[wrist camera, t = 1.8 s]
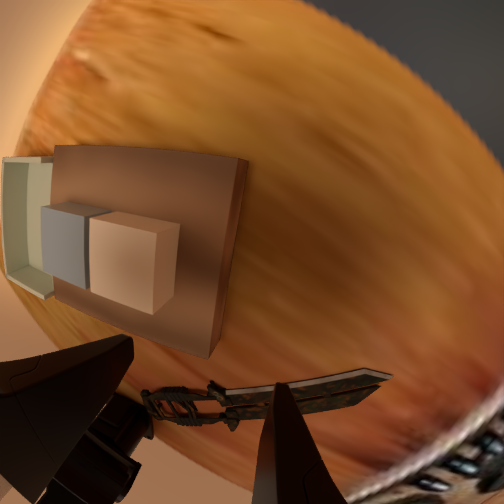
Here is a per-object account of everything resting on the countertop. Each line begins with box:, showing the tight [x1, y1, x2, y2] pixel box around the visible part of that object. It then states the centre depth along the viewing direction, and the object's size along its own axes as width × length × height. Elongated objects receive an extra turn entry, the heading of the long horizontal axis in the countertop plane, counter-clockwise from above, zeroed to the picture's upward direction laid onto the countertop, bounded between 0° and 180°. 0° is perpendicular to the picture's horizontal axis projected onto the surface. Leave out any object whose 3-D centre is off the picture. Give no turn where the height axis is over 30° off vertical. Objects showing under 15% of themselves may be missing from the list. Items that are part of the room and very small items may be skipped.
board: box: [50, 145, 249, 360], centre depth 20 cm, size 14×16×3 cm
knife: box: [140, 369, 393, 431], centre depth 23 cm, size 25×6×1 cm, turn 103°
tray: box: [1, 156, 55, 300], centre depth 21 cm, size 13×8×4 cm, turn 170°
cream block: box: [89, 211, 180, 315], centre depth 17 cm, size 5×5×3 cm
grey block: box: [41, 202, 112, 290], centre depth 18 cm, size 5×5×3 cm
